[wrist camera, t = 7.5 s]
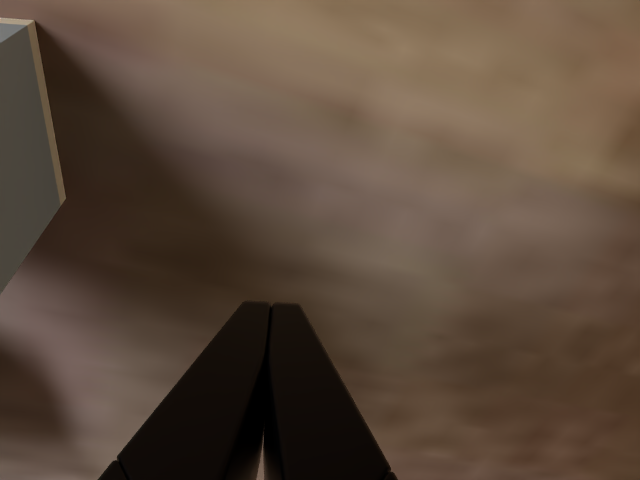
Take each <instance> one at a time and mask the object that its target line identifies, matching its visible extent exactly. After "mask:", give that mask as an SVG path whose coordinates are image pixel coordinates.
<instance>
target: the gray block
mask: <svg viewBox="0 0 640 480" xmlns="http://www.w3.org/2000/svg"><path fill="white" fill-rule="evenodd" d="M65 199H66V195H65V190H64V184H63V178H62V173H61V167H60V161H59V156H58V150H57V145H56V139H55V133H54V128H53V122H52V116H51V111H50V105H49V100H48V94H47V88H46V83H45V77H44V72H43V66H42V60H41V55H40V49H39V43H38V38H37V32H36V27H35V21H34V20H23V19H10V18H0V294H1V293H2V291H3V290H4V288H5V287H6V285H7V284H8V283H9V281H10V280H11V278H12V277H13V275H14V274H15V272H16V271H17V269H18V268H19V266H20V265H21V264H22V262H23V261H24V259H25V258H26V256H27V255H28V253H29V252H30V250H31V249H32V247H33V246H34V245H35V243H36V242H37V240H38V239H39V237H40V236H41V234H42V233H43V231H44V230H45V228H46V227H47V226H48V224H49V223H50V221H51V220H52V218H53V217H54V215H55V214H56V212H57V211H58V209H59V208H60V207H61V205H62V204H63V202H64V201H65Z"/></svg>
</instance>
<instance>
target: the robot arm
mask: <svg viewBox="0 0 640 480" xmlns="http://www.w3.org/2000/svg"><path fill="white" fill-rule="evenodd" d="M263 434H264V443H263ZM262 443H263V459H264V480H398V479H397V477H396V476H395V474H394V473H393V472H390V471H391V467H390V465H389V463H388V462H387V460H386V458H385V456H384V454H383V453H382V451H381V449H380V447H379V445H378V444H377V442H376V440H375V438H374V437H373V435H372V433H371V431H370V429H369V428H368V426H367V424H366V422H365V420H364V419H363V417H362V415H361V413H360V411H359V410H358V408H357V406H356V404H355V402H354V401H353V399H352V397H351V395H350V393H349V392H348V390H347V388H346V386H345V384H344V383H343V381H342V379H341V377H340V375H339V374H338V372H337V370H336V368H335V366H334V365H333V363H332V361H331V359H330V357H329V356H328V354H327V352H326V350H325V348H324V347H323V345H322V343H321V341H320V339H319V338H318V336H317V334H316V332H315V330H314V329H313V327H312V325H311V323H310V321H309V320H308V318H307V316H306V314H305V312H304V311H303V309H302V307H301V306H300V305H299V304H296V303H280V302H276V303H274V304H273V305H272V309H271V304H270V303H269V302H261V301H245V302H243V303H242V304H241V305H240V306H239V308H238V309H237V310H236V311H235V312H234V314H233V315H232V316H231V317H230V319H229V320H228V321H227V322H226V324H225V325H224V326H223V327H222V328H221V330H220V331H219V332H218V333H217V335H216V336H215V337H214V338H213V339H212V341H211V342H210V343H209V344H208V346H207V347H206V348H205V349H204V350H203V352H202V353H201V354H200V355H199V357H198V358H197V359H196V360H195V361H194V363H193V364H192V365H191V366H190V368H189V369H188V370H187V371H186V372H185V374H184V375H183V376H182V377H181V379H180V380H179V381H178V382H177V384H176V385H175V386H174V387H173V388H172V390H171V391H170V392H169V393H168V395H167V396H166V397H165V398H164V399H163V401H162V402H161V403H160V404H159V406H158V407H157V408H156V409H155V410H154V412H153V413H152V414H151V415H150V417H149V418H148V419H147V420H146V421H145V423H144V424H143V425H142V426H141V428H140V429H139V430H138V431H137V432H136V434H135V435H134V436H133V437H132V439H131V440H130V441H129V442H128V444H127V445H126V446H125V447H124V448H123V450H122V451H121V452H120V453H119V455H118V456H117V460H115V461H113V462H112V463H111V464H110V465H109V466H108V468H107V469H106V470H105V471H104V473H103V474H102V475H101V476H100V477H99V479H98V480H256V478H257V473H258V468H259V463H260V457H261V451H262Z"/></svg>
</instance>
